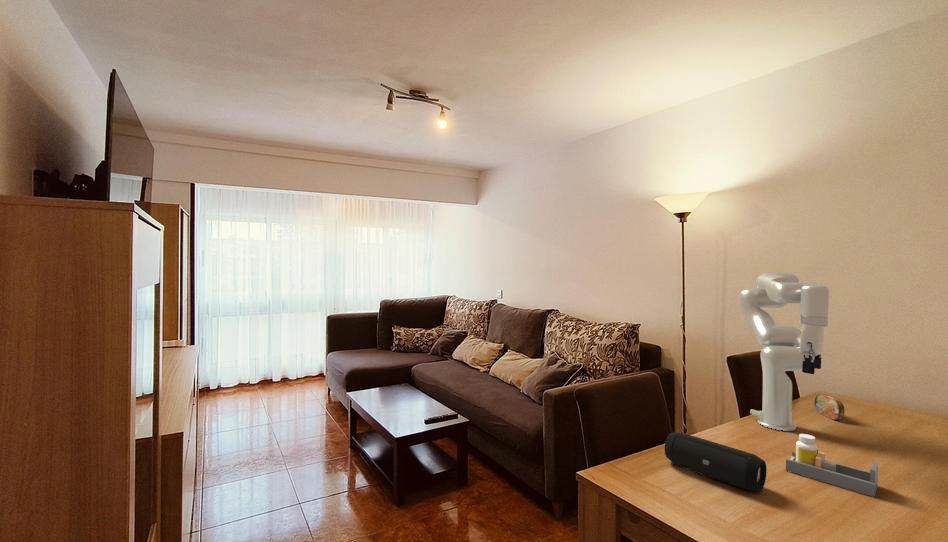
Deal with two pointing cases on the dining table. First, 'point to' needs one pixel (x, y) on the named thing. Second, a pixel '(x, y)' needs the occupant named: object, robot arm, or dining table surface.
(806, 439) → the supplement bottle
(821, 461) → the spring paddle
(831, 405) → the multicoloured flat oval piece
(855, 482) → the pusher lane
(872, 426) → the dining table surface
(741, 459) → the portable speaker
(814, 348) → the robot arm
